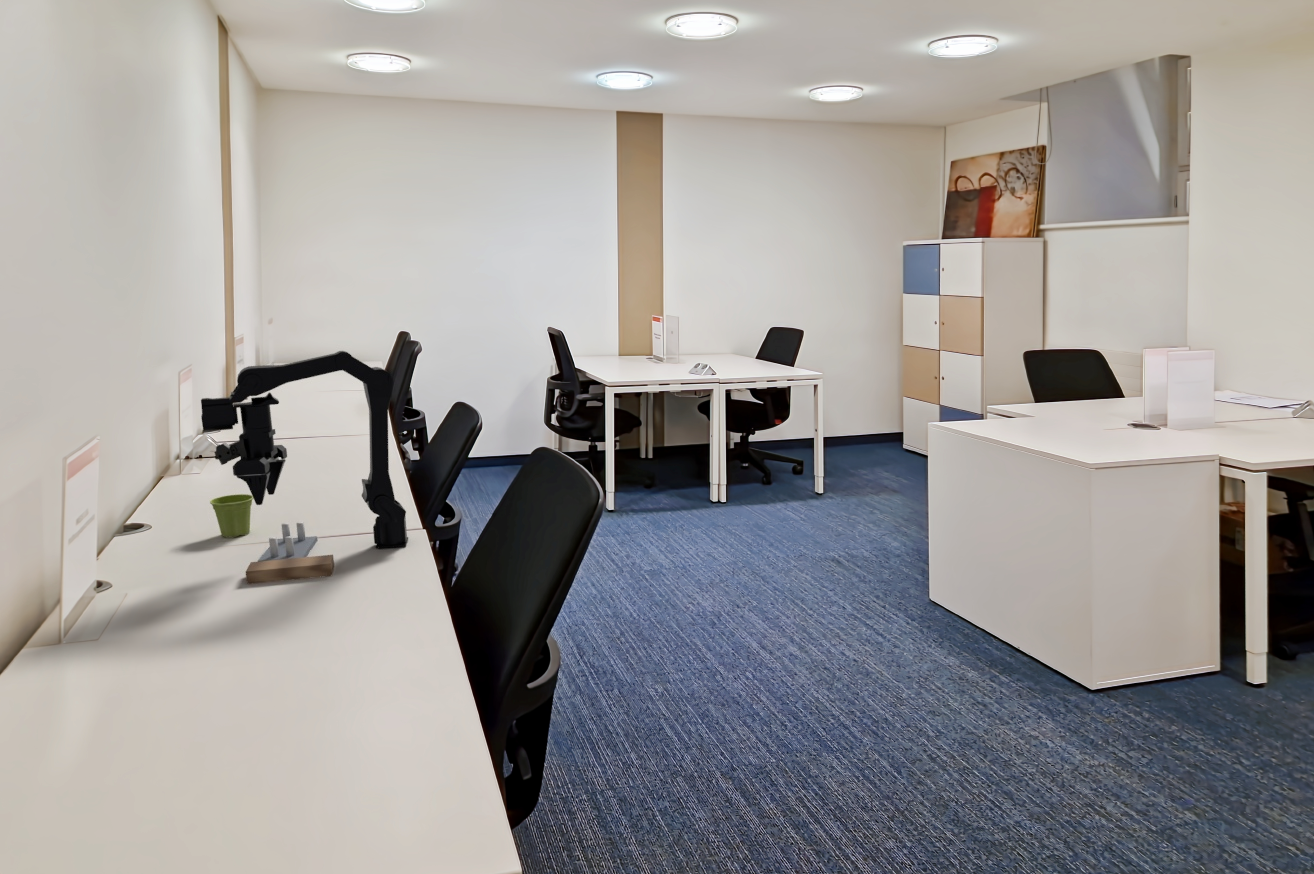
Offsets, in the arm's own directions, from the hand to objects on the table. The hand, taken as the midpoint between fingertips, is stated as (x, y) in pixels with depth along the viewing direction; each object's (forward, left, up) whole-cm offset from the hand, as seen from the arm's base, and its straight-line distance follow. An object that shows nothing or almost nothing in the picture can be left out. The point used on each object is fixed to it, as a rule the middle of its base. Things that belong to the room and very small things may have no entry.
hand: (265, 499), depth 201 cm
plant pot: (+13, -24, -14) cm, 31 cm away
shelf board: (-7, +12, -14) cm, 19 cm away
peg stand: (-3, -5, -13) cm, 15 cm away
